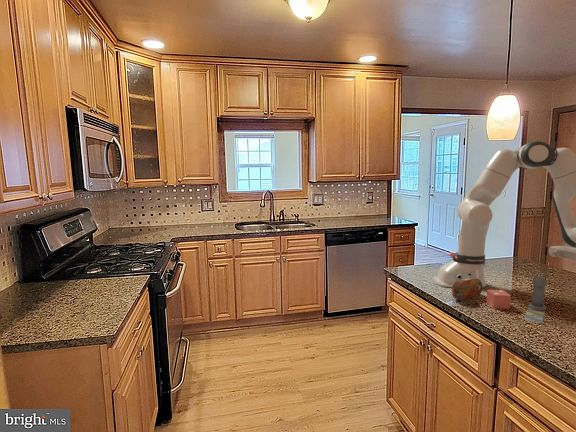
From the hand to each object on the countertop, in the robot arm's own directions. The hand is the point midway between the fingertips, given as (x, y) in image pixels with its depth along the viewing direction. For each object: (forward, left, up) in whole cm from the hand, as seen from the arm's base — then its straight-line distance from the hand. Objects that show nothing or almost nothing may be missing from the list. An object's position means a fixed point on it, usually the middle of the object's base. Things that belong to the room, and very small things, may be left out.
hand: (565, 257), depth 134 cm
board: (-14, -10, -20) cm, 26 cm away
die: (-24, -4, -20) cm, 32 cm away
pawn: (-11, -5, -19) cm, 22 cm away
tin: (-33, +5, -20) cm, 39 cm away
